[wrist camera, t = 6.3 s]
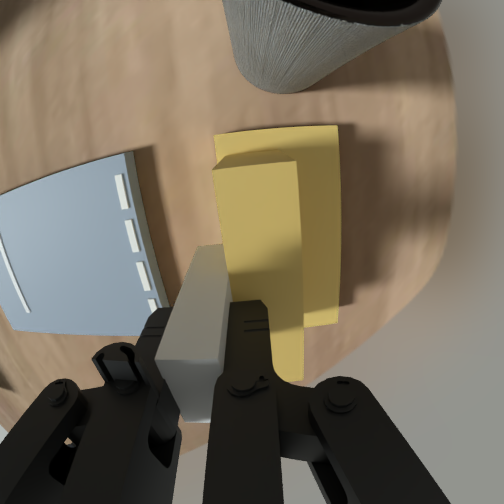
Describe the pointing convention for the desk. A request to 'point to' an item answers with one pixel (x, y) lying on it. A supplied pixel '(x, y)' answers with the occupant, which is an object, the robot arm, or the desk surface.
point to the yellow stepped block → (282, 229)
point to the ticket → (79, 253)
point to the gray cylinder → (312, 36)
